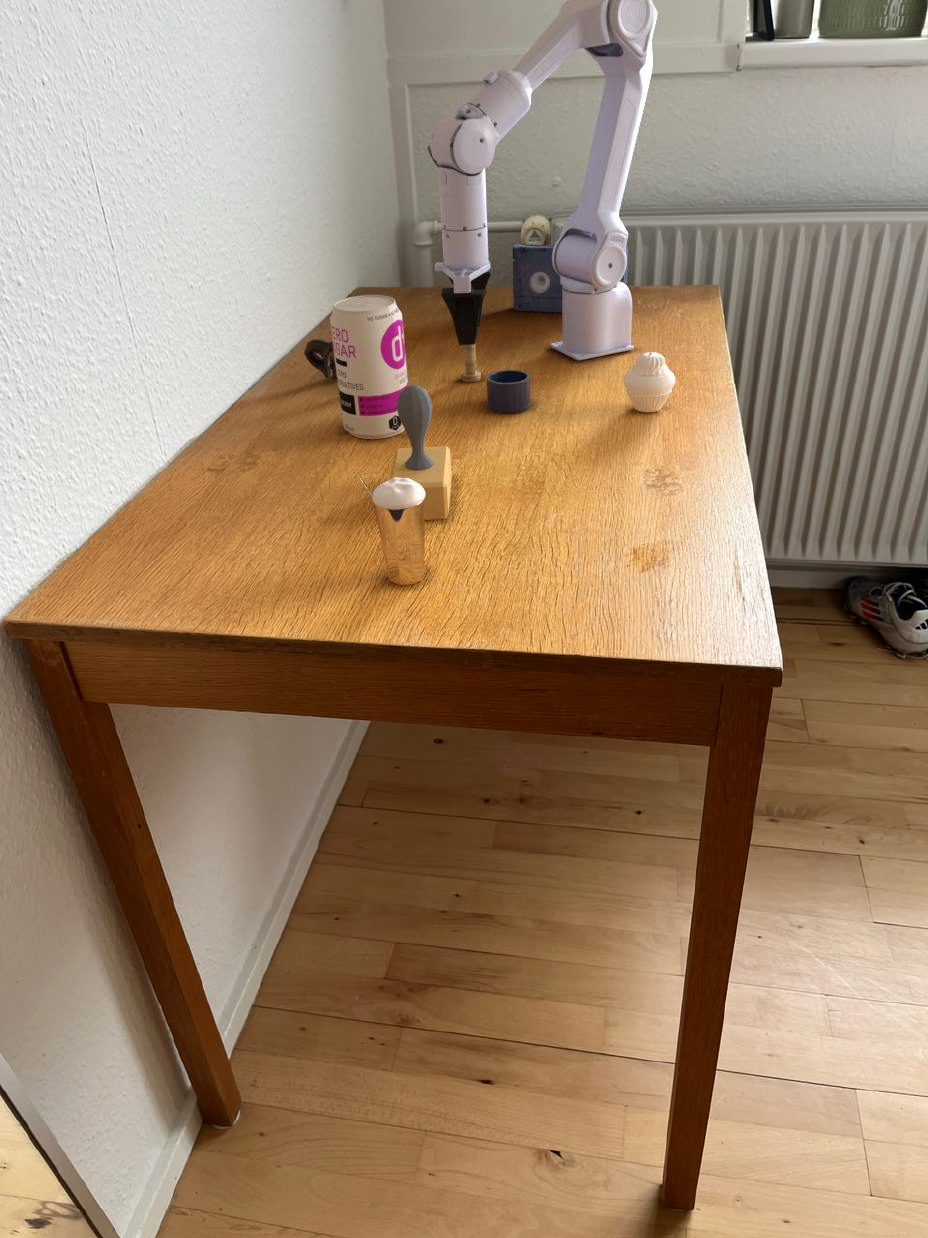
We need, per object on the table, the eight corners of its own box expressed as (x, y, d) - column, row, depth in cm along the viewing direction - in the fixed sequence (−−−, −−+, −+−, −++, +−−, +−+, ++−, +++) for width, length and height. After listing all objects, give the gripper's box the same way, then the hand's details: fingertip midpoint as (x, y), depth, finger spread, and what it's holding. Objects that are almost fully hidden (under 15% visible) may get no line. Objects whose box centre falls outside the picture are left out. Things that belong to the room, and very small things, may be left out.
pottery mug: (391, 370, 136) (398, 326, 129) (383, 419, 131) (391, 377, 124) (306, 353, 134) (310, 308, 127) (296, 403, 130) (299, 359, 123)
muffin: (679, 402, 118) (684, 346, 114) (664, 419, 114) (667, 362, 110) (632, 396, 121) (634, 341, 117) (614, 413, 116) (616, 356, 112)
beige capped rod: (475, 374, 131) (473, 315, 127) (484, 379, 129) (481, 320, 125) (458, 378, 130) (455, 318, 126) (466, 383, 128) (463, 323, 124)
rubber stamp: (398, 479, 103) (388, 370, 97) (451, 477, 103) (444, 368, 96) (390, 521, 95) (378, 405, 88) (448, 518, 95) (440, 402, 88)
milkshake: (371, 566, 87) (360, 465, 82) (430, 561, 87) (422, 460, 82) (372, 592, 83) (359, 488, 78) (433, 587, 84) (424, 482, 78)
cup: (518, 395, 123) (517, 366, 121) (538, 408, 119) (538, 378, 117) (480, 403, 121) (479, 374, 119) (499, 416, 117) (498, 386, 115)
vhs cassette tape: (626, 310, 154) (629, 245, 148) (622, 315, 151) (624, 250, 146) (518, 305, 160) (517, 242, 154) (512, 310, 157) (511, 246, 152)
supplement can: (422, 419, 118) (412, 295, 110) (390, 444, 111) (377, 314, 103) (365, 412, 121) (352, 291, 113) (331, 436, 115) (314, 310, 106)
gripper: (438, 216, 126) (445, 320, 133) (425, 239, 113) (433, 352, 121) (492, 214, 125) (495, 319, 132) (484, 237, 113) (489, 351, 120)
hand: (469, 335), depth 126 cm, fingers open, 7 cm apart
